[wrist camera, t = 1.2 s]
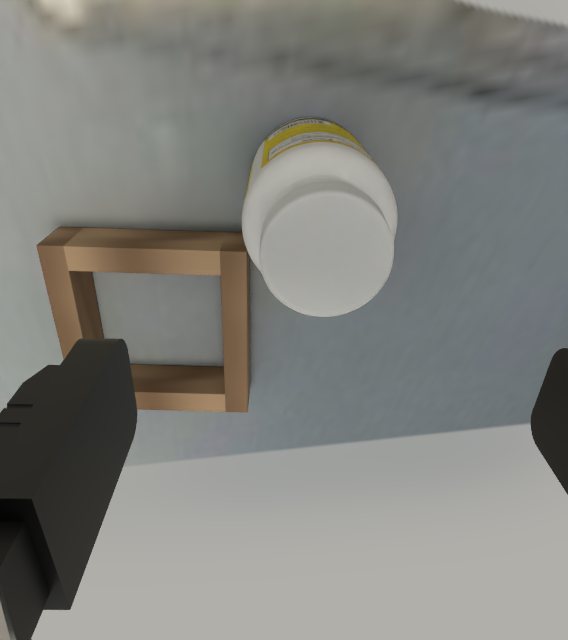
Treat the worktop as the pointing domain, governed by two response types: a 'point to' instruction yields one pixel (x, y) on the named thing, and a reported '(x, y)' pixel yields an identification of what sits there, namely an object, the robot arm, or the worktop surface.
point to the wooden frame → (161, 258)
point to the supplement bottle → (319, 218)
